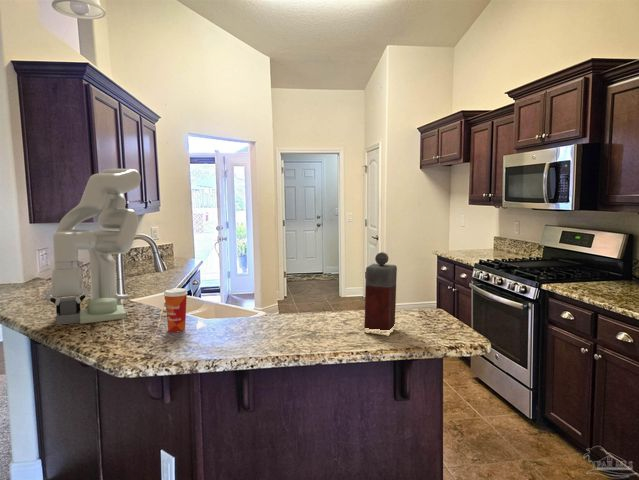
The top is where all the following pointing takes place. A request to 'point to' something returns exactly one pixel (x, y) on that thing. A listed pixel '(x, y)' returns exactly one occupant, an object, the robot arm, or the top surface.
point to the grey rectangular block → (68, 306)
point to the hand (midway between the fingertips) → (68, 313)
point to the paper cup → (176, 309)
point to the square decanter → (380, 294)
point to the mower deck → (102, 317)
